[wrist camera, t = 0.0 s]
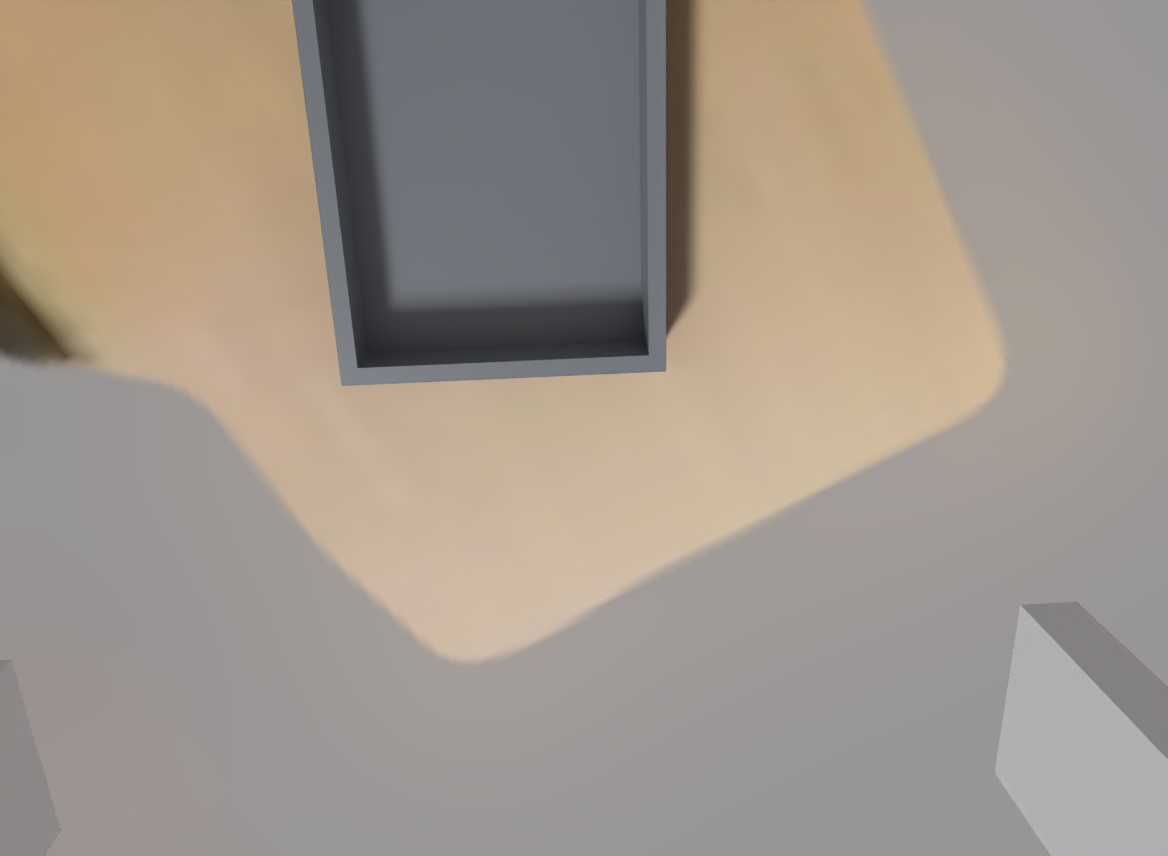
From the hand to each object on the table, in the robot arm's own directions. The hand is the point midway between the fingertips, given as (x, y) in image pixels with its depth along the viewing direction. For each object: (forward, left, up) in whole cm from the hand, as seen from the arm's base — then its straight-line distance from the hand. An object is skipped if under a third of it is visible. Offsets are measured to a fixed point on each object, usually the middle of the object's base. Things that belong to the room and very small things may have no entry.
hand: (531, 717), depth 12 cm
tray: (-5, -1, -28) cm, 29 cm away
